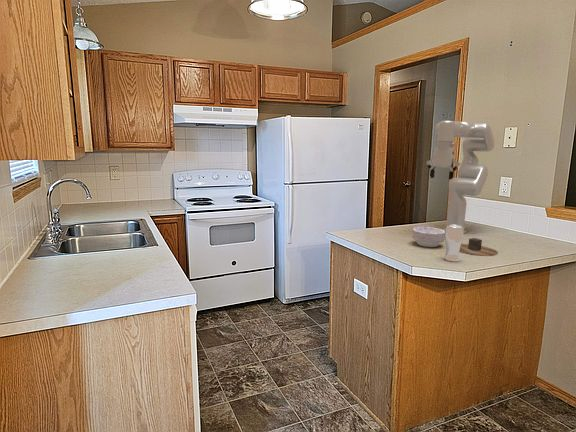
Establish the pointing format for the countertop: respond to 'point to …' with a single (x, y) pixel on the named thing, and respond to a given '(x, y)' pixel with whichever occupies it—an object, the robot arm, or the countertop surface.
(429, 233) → the paper bowls
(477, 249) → the walnut lid
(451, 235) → the beer glass
